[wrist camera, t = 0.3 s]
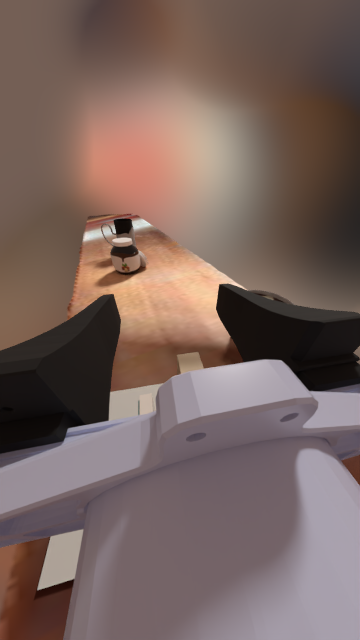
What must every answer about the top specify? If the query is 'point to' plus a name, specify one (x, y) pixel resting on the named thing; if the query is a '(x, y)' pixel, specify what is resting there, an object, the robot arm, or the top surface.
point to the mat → (67, 545)
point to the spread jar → (127, 256)
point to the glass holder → (123, 229)
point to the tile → (146, 404)
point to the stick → (188, 362)
